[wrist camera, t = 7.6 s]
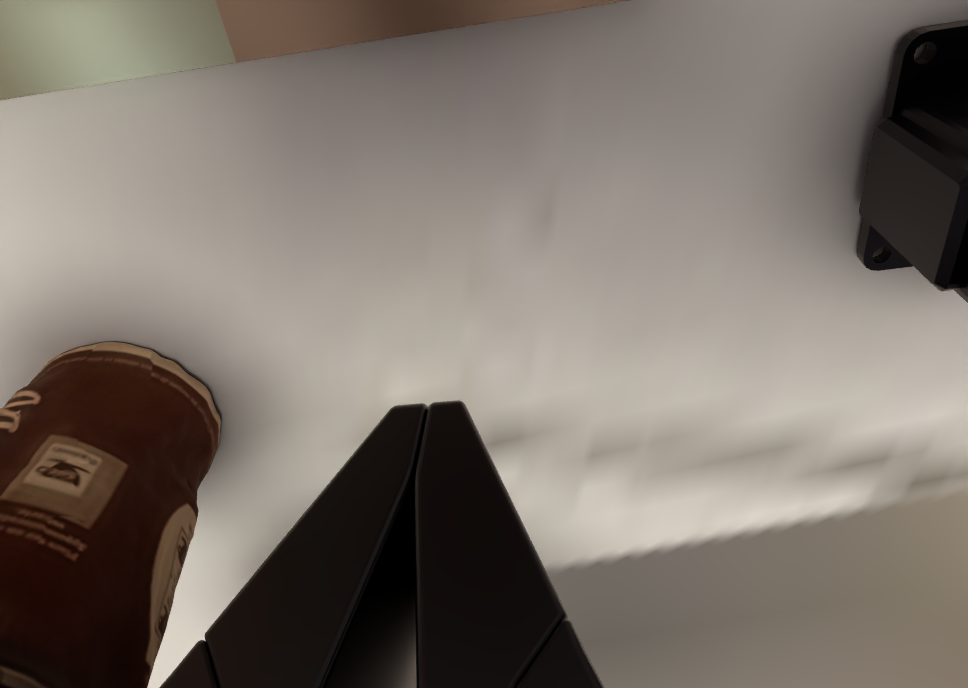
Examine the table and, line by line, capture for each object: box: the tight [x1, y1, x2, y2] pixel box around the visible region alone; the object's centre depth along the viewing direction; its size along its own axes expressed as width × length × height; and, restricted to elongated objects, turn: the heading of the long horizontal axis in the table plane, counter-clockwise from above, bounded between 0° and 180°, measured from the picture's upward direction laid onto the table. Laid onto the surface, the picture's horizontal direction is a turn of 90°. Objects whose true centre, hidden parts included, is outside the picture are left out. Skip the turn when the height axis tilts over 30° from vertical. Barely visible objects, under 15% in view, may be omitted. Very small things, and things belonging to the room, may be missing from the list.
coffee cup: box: [0, 342, 221, 688], centre depth 19 cm, size 9×8×13 cm
